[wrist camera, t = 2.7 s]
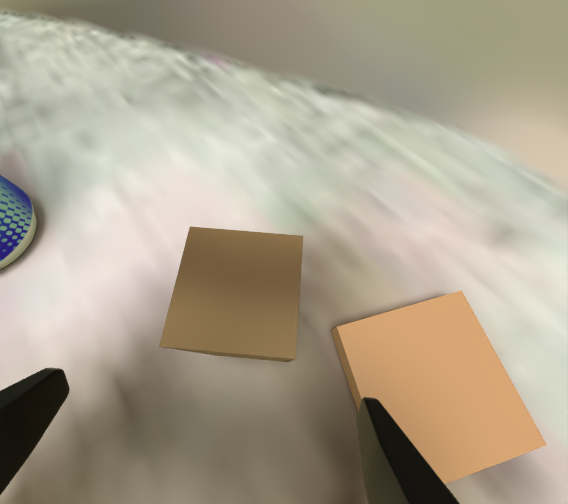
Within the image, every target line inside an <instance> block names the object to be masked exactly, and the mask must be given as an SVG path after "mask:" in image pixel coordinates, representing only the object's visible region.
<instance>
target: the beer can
mask: <svg viewBox="0 0 568 504" xmlns="http://www.w3.org/2000/svg"><path fill="white" fill-rule="evenodd" d="M36 226H37V220H36V216H35V213H34V210H33V205H32V202H31V200H30V198H29V196H28V195H27V194H26V193H25V192H24V191H23V190H22V189H20V188H19V187H17V186H16V185H14V184H13V183H11V182H10V181H9V180H7V179H6V178H4V177H3V176H1V175H0V269H2V268H3V267H5V266H7V265H8V264H10V263H11V262H13V261H14V260H15V259H17V258H18V257H19V256H20V255H21V254H22V253H23V252H24V251H25V250H26V248H27V247H28V246H29V244H30V243H31V241H32V239H33V237H34V235H35V231H36Z"/></svg>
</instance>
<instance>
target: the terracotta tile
mask: <svg viewBox="0 0 568 504" xmlns="http://www.w3.org/2000/svg"><path fill="white" fill-rule="evenodd" d="M331 332H332V335H333V338H334V341H335V344H336V347H337V350H338V353H339V356H340V359H341V362H342V365H343V368H344V371H345V374H346V377H347V380H348V383H349V386H350V389H351V392H352V395H353V398H354V401H355V404H356V407H357V410H358V412H359V408H360V404H361V400H362V398H363V397H372V398H376V399H378V400H379V401H380V402H381V404H382V405H383V406H384V408H385V409H386V410H387V411H388V413H389V414H390V415H391V416H392V418H393V419H394V420H395V422H396V423H397V424H398V425H399V427H400V428H401V429H402V430H403V432H404V433H405V434H406V436H407V437H408V438H409V439H410V441H411V442H412V443H413V445H414V446H415V447H416V448H417V450H418V451H419V452H420V453H421V455H422V456H423V457H424V459H425V460H426V461H427V462H428V464H429V465H430V466H431V467H432V469H433V470H434V471H435V473H436V474H437V475H438V476H439V478H440V479H441V480H442V482H443V483H444V484H446V483H449V482H452V481H454V480H457V479H459V478H462V477H465V476H467V475H470V474H472V473H475V472H478V471H480V470H483V469H485V468H488V467H491V466H493V465H496V464H498V463H501V462H504V461H506V460H509V459H511V458H514V457H517V456H519V455H522V454H524V453H527V452H530V451H532V450H535V449H537V448H540V447H542V446H545V445H546V443H545V441H544V439H543V438H542V436H541V434H540V432H539V430H538V428H537V427H536V425H535V423H534V421H533V419H532V418H531V416H530V414H529V412H528V410H527V408H526V407H525V405H524V403H523V401H522V399H521V398H520V396H519V394H518V392H517V390H516V388H515V387H514V385H513V383H512V381H511V379H510V378H509V376H508V374H507V372H506V370H505V369H504V367H503V365H502V363H501V361H500V359H499V358H498V356H497V354H496V352H495V350H494V349H493V347H492V345H491V343H490V341H489V339H488V338H487V336H486V334H485V332H484V330H483V329H482V327H481V325H480V323H479V321H478V319H477V318H476V316H475V314H474V312H473V310H472V309H471V307H470V305H469V303H468V301H467V299H466V298H465V296H464V294H463V292H462V291H458V292H455V293H451V294H448V295H444V296H441V297H437V298H434V299H431V300H427V301H424V302H420V303H417V304H413V305H410V306H406V307H403V308H399V309H396V310H393V311H389V312H386V313H382V314H379V315H375V316H372V317H368V318H365V319H362V320H358V321H355V322H351V323H348V324H344V325H341V326H337V327H336V328H334V329H332V330H331Z"/></svg>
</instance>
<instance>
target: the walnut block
mask: <svg viewBox="0 0 568 504" xmlns="http://www.w3.org/2000/svg"><path fill="white" fill-rule="evenodd" d="M302 247H303V236H297V235H285V234H273V233H261V232H249V231H237V230H225V229H212V228H200V227H190V228H189V232H188V236H187V240H186V244H185V248H184V252H183V256H182V260H181V263H180V267H179V271H178V275H177V279H176V283H175V287H174V291H173V295H172V299H171V302H170V306H169V310H168V314H167V318H166V322H165V326H164V330H163V334H162V337H161V341H160V345H159V347H165V348H172V349H178V350H184V351H191V352H197V353H204V354H210V355H218V356H229V357H240V358H250V359H261V360H272V361H283V362H289V361H292V360H294V359H296V344H297V328H298V311H299V295H300V279H301V263H302Z"/></svg>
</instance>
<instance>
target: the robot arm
mask: <svg viewBox="0 0 568 504" xmlns="http://www.w3.org/2000/svg"><path fill="white" fill-rule="evenodd" d="M68 394H69V385H68V382H67V379H66V376H65V373H64V371H63V370H62V369H59V368H45V369H43V370H41V371H39V372H37V373H35V374H33V375H31V376H29V377H27V378H25V379H23V380H21V381H19V382H17V383H15V384H13V385H11V386H9V387H7V388H5V389H3V390H1V391H0V495H1V494H2V492H3V491H4V490H5V488H6V487H7V486H8V484H9V483H10V481H11V480H12V479H13V477H14V476H15V475H16V473H17V472H18V471H19V469H20V468H21V467H22V465H23V464H24V463H25V461H26V460H27V458H28V457H29V456H30V454H31V453H32V451H33V450H34V448H35V447H36V445H37V444H38V442H39V441H40V439H41V437H42V436H43V434H44V433H45V431H46V429H47V428H48V426H49V425H50V423H51V422H52V420H53V418H54V417H55V415H56V414H57V412H58V410H59V409H60V407H61V406H62V404H63V403H64V401H65V399H66V398H67V396H68ZM357 425H358V433H359V441H360V450H361V458H362V466H363V474H364V482H365V488H366V493H367V499H368V503H369V504H460V503H459V502H458V501H457V499H456V498H455V497H454V496H453V494H452V493H451V492H450V490H449V489H448V488H447V487H446V485H445V484H444V483H443V482H442V480H441V479H440V478H439V476H438V475H437V474H436V473H435V471H434V470H433V469H432V467H431V466H430V465H429V464H428V462H427V461H426V460H425V459H424V457H423V456H422V455H421V453H420V452H419V451H418V450H417V448H416V447H415V446H414V445H413V443H412V442H411V441H410V439H409V438H408V437H407V436H406V434H405V433H404V432H403V430H402V429H401V428H400V427H399V425H398V424H397V423H396V422H395V420H394V419H393V418H392V416H391V415H390V414H389V413H388V411H387V410H386V409H385V408H384V406H383V405H382V404H381V402H380V401H379V400H378V399H376V398H372V397H363V398H362V400H361V404H360V408H359V412H358V416H357Z"/></svg>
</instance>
